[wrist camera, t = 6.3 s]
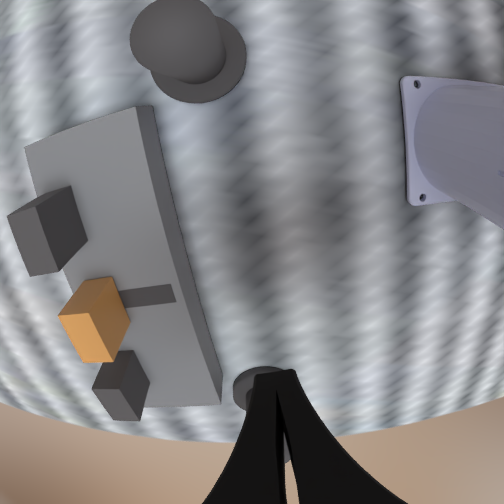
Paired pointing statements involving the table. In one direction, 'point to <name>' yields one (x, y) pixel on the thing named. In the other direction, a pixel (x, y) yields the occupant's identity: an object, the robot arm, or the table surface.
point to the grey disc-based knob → (188, 50)
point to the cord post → (244, 392)
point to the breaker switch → (95, 320)
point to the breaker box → (122, 256)
